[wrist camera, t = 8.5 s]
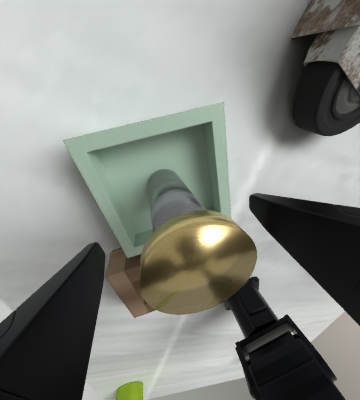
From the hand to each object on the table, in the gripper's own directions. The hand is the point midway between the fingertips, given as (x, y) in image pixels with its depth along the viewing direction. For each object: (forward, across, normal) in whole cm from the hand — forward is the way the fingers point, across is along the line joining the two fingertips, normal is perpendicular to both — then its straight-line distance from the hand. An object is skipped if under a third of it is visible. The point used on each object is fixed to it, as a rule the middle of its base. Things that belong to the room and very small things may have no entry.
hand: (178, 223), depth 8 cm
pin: (+6, 0, 0) cm, 6 cm away
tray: (+8, 0, 0) cm, 8 cm away
